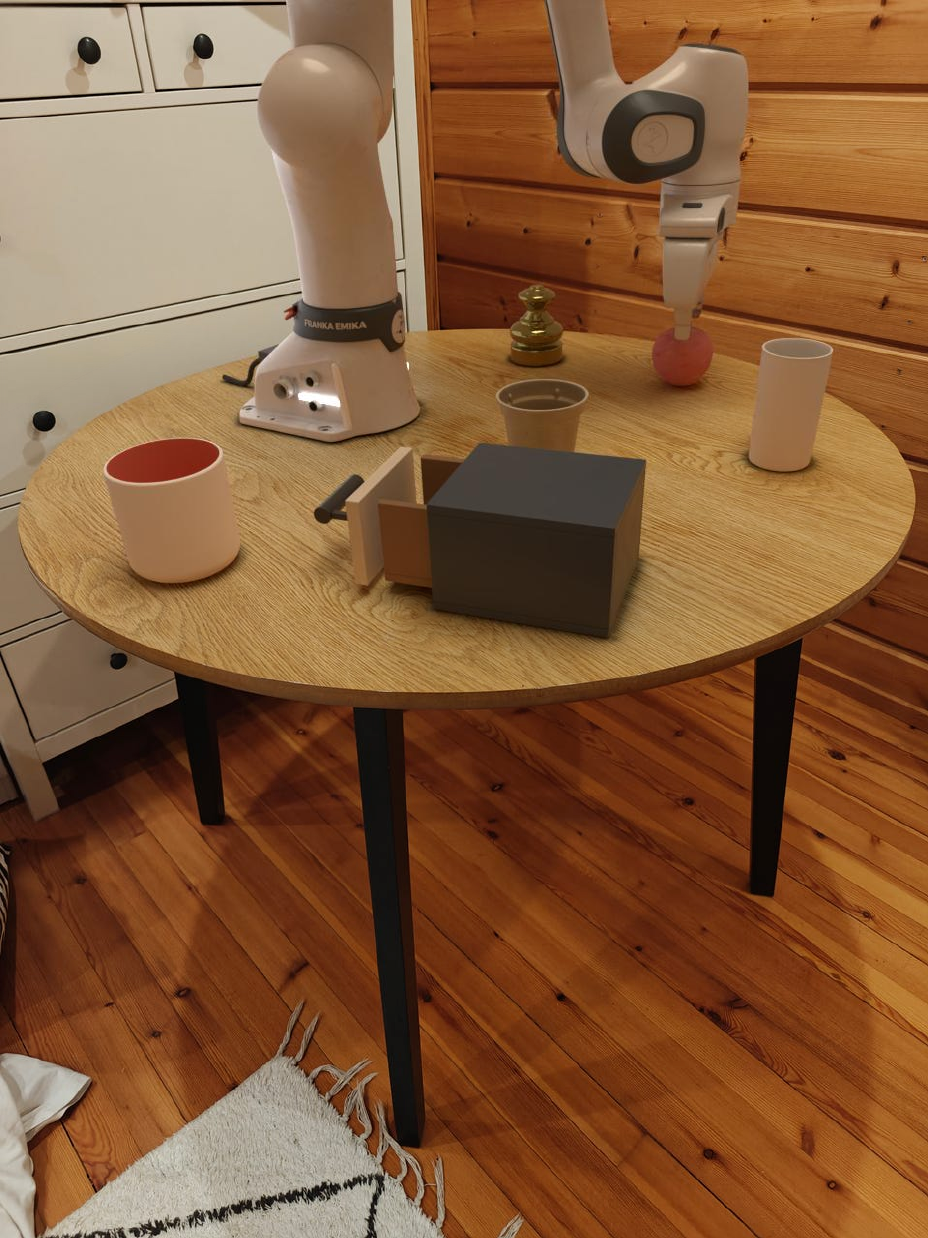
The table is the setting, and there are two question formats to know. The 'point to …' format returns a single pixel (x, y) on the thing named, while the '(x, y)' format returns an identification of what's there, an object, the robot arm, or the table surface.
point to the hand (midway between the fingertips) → (688, 327)
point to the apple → (682, 356)
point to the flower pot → (542, 413)
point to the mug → (788, 402)
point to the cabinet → (537, 537)
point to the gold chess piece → (536, 330)
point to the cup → (174, 508)
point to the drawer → (389, 517)
